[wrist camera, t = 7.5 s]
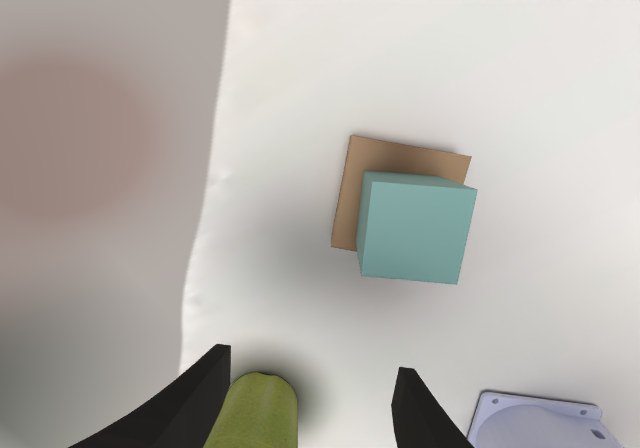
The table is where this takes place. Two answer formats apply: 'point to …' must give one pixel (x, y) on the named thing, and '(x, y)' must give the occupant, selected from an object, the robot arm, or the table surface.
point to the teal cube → (413, 226)
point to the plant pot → (257, 415)
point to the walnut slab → (385, 159)
